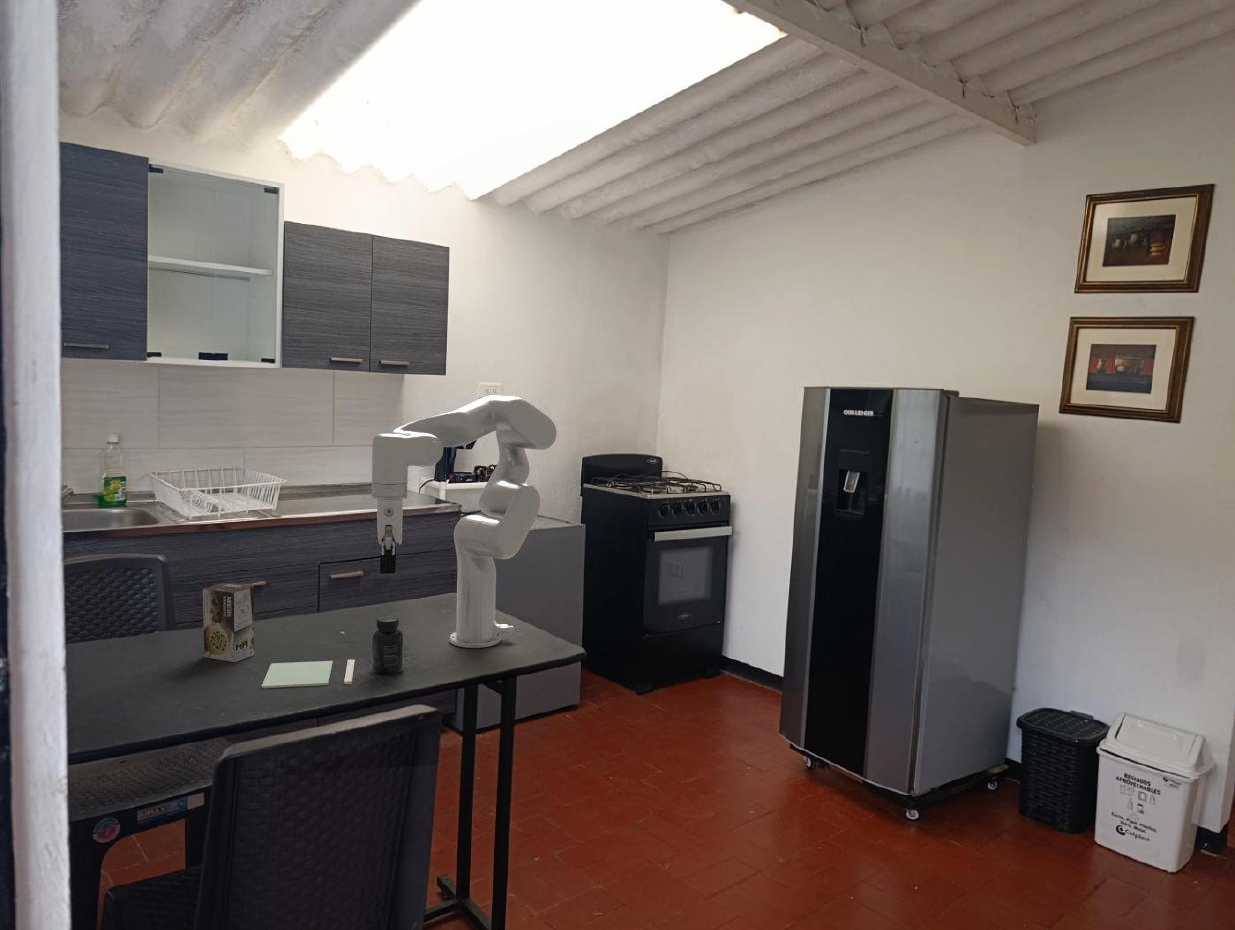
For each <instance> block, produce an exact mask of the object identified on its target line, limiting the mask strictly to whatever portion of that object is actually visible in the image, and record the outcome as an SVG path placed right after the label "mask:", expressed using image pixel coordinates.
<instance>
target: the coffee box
mask: <svg viewBox="0 0 1235 930" xmlns="http://www.w3.org/2000/svg"><path fill="white" fill-rule="evenodd" d="M254 590H255V586H252V585H244V584H236V583H227V582H221V583H217V584H213V585H211V586H209V587H205V588H202V608H203V609H202V614H203V653H204V655H203V656H204V658H206V659H207V658H208V659H213V660H214V659H215V660H219V661H225V662H231V663H237V662H239V661H242V660H245V659H246V658H250V657H253V656H254V655H255V607H254V606H255V599H254V598H255V596H254V595H255V591H254Z"/></svg>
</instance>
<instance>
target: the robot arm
mask: <svg viewBox="0 0 1235 930" xmlns="http://www.w3.org/2000/svg"><path fill="white" fill-rule="evenodd" d="M493 432H495V437H496V441H497V444H498V452H499V453H498V454H499V456H498V462H497V464H496V466H495V469H494V470H493V471H492V474H491V475H490V477H489V479H488V481H487V483H486V484H485V486H484V487H483V490H482V492H481V494H480V496H479V499H478V506H479V509H480V511H481V512H482V513H483V514H485V515H480V514H469V515H465V516H464V517H462V518H460V520H458V522H457V523H456V525H455V527H454V530H453V541H454V547H455V553H456V560H457V561H456V563H457V566H456V568H457V570H456V571H457V581H456V582H457V583H456V621H455V622H456V623H455V625H456V627H455V632H453V633H451V634H450V635H449V642H450V644H452V645H454V646H457V647H460V648H467V649H469V648H470V649H482V648H489V647H492V646H495V645H497V644H499V643H500V642H501V641H502V639H501V638H502V637H501V635H502V634H506V635H511V634H514V632H515V630H514V629H515V628H514V625H508V624H503V623H502V624H499V623H497V621H496V592H497V588H496V587H497V568H496V564H495V561H494V559H500V560H508V559H509V560H510V559H511V558H513V557H514V556H516V554H517V553H518V552H519V551H520V549H521V547H522V545H524V542H525V540H526V538H527V537H528V534H529V533H530V530H531V529H532V526H533V525H534V523H535V521H536V520H537V517H538V514H539V513H540V512H539V511H540V506H541V498H540V493H539V491H538V490H537V488H536V487H535V486H533V485H531V484H529V483H526V481H527V479H528V477H529V475H530V467H531V466H530V463H529V460H528V457H527V454H526V450H525V449H529V450H539V451H540V450H541V451H543V450H547V449H549V448H551V447H552V446H553V445H554V443H555V441H556V439H557V427H556V424H555V423H554V421H553V419H551V418H550V417H549V416H548V415H547V414H545V413H544V412H542V411H541V410H539V409H538V407H535V406H534V405H533V404H531V403H530V402H528V401H527V400H526V399H523V398H520V397H517V396H507V395H488V396H484V397H481V398H480V399H477V400H475V401H472V402H470V403H469V404H466V405H463V406H462V407H459V408H457V409H455V410H453V411H451V412H445V413H441V414H437V415H434V416H429V417H425V418H421V419H417V420H414V421H411V422H408V423H407V424H404V425H402V426H399V427H397V428H395V429H394V430H392V431H390V432H389V433H378V434H375V435H374V436H373V439H372V449H371V451H372V452H371V453H372V455H371V456H372V457H371V496H370V497H371V499H376V504H377V505H376V517H377V518H376V527H377V540H378V544H379V545H380V556H379V557H380V558H379V561H380V562H379V573H380V574H383V575H385V574H388V575H389V574H393V575H394V574H396V569H397V568H396V567H397V566H396V565H397V564H396V563H397V546H396V543H398V545H401V544H402V543H403V519H404V518H403V516H404V515H403V509H404V508H403V500H404V499H407V498H408V481H409V480H408V477H409V476H408V475H409V474H408V473H409V471H408V470H409V467H410V466H411V467H413V466H414V467H423V468H427V467H431V466H434V465H436V464H437V463H439V461H441V460H442V457H443V454H444V448H453V447H454V448H456V447H461V446H466V445H469V444H471V443H473V442H475V441H477V440H479V439H481V438H483V437H484V436H487V435H489V434H491V433H493Z"/></svg>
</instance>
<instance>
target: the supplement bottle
mask: <svg viewBox="0 0 1235 930" xmlns="http://www.w3.org/2000/svg"><path fill="white" fill-rule="evenodd" d="M375 622H376V623H375V627H376V629H375V630H374V631H373V632H372V634H371V671H372V673H373V674H375V675H377V676H384V677H385V676H388V677H389V676H394V675H398V674H400V673H401V672H402V671H403V670H404V639H405V638H404V632H403V630H402V629H400V618H399V617H398V616H395V615H384V616H383V615H382V616H379V617H377V618H376V621H375Z"/></svg>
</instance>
